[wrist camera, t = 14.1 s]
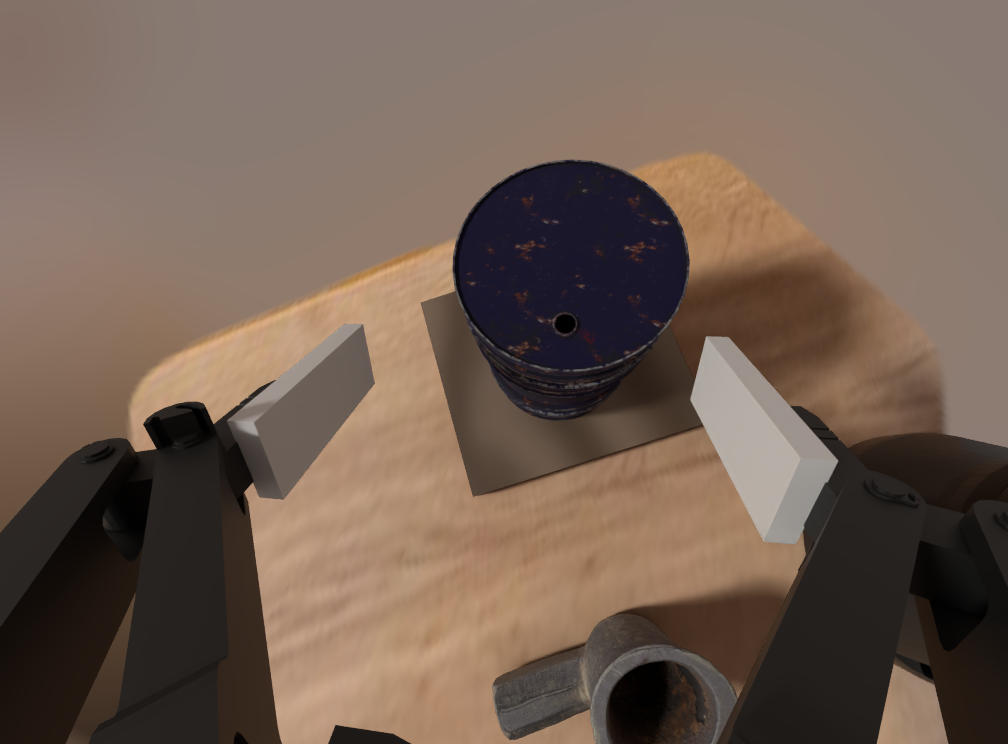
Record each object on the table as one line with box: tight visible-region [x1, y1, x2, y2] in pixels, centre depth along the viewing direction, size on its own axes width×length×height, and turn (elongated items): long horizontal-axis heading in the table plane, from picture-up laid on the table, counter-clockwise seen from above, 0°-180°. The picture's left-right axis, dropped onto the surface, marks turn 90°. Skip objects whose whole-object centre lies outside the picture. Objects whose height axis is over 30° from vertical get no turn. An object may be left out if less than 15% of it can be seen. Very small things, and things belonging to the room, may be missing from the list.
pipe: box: [492, 614, 738, 744], centre depth 23 cm, size 6×13×8 cm, turn 109°
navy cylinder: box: [453, 160, 690, 421], centre depth 24 cm, size 10×10×15 cm
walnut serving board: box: [421, 291, 703, 497], centre depth 32 cm, size 18×16×2 cm
